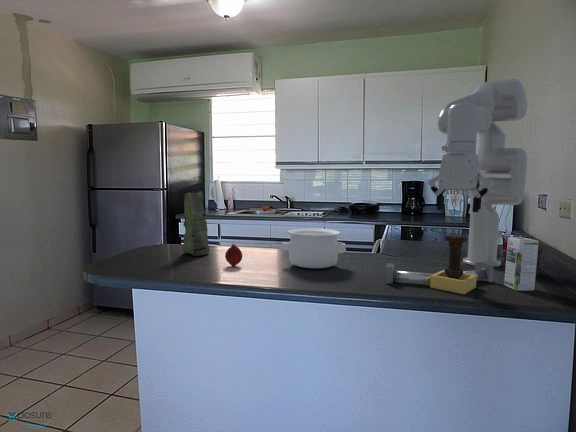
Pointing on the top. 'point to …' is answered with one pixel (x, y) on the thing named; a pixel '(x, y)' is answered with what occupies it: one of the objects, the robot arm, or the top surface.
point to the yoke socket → (453, 282)
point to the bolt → (454, 256)
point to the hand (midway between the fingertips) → (457, 210)
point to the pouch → (195, 225)
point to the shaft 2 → (482, 272)
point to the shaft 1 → (406, 276)
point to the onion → (233, 255)
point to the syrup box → (521, 263)
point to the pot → (313, 247)
